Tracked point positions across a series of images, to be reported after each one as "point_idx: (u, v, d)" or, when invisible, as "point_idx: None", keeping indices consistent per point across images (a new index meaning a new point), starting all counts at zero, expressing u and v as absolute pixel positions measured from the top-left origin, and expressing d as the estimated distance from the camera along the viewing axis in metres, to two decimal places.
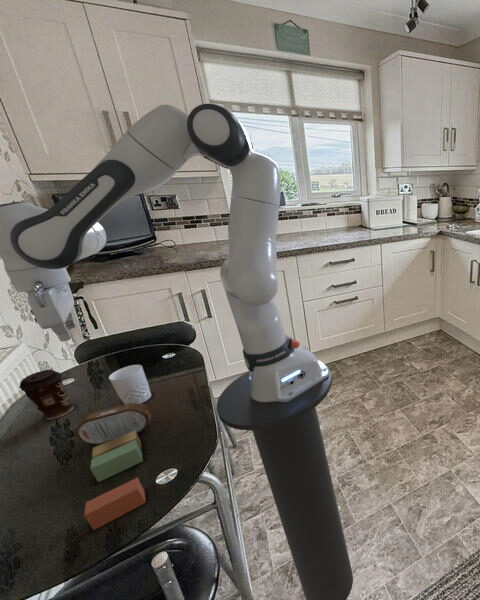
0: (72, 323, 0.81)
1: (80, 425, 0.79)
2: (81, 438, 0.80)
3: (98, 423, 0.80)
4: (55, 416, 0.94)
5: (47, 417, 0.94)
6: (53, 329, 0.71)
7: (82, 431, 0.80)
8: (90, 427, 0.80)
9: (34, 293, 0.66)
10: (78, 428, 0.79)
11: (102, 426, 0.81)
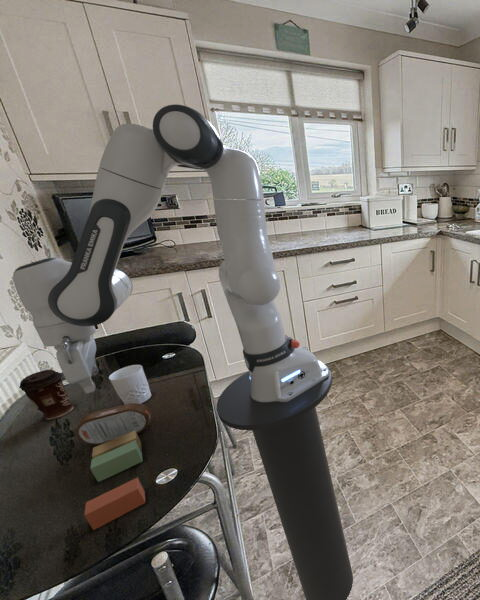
0: (95, 370, 0.81)
1: (80, 425, 0.79)
2: (81, 438, 0.80)
3: (98, 423, 0.80)
4: (55, 416, 0.94)
5: (47, 417, 0.94)
6: (79, 382, 0.72)
7: (82, 431, 0.80)
8: (90, 427, 0.80)
9: (63, 351, 0.66)
10: (78, 428, 0.79)
11: (102, 426, 0.81)
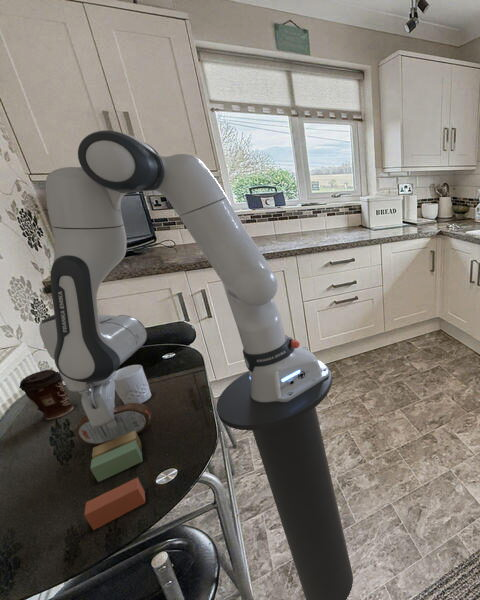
0: None
1: (80, 425, 0.79)
2: (81, 438, 0.80)
3: None
4: (55, 416, 0.94)
5: (47, 417, 0.94)
6: None
7: (82, 430, 0.80)
8: (90, 427, 0.80)
9: (88, 398, 0.70)
10: (78, 428, 0.79)
11: (102, 426, 0.81)
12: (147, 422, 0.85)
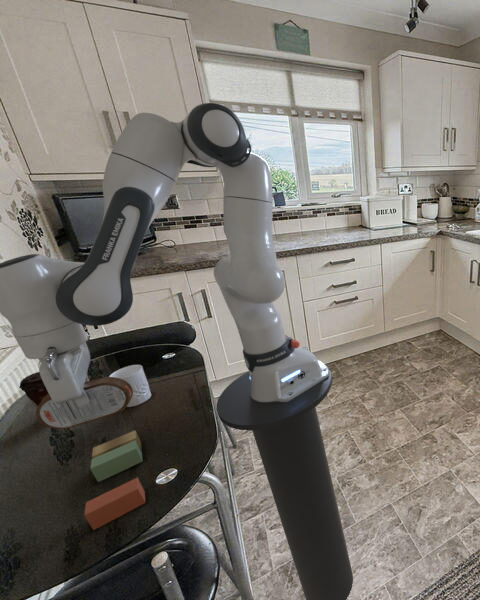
0: None
1: (42, 403, 0.64)
2: (43, 421, 0.65)
3: None
4: None
5: None
6: None
7: (45, 411, 0.65)
8: (55, 406, 0.65)
9: (47, 365, 0.56)
10: (39, 407, 0.64)
11: (70, 405, 0.66)
12: (127, 400, 0.71)
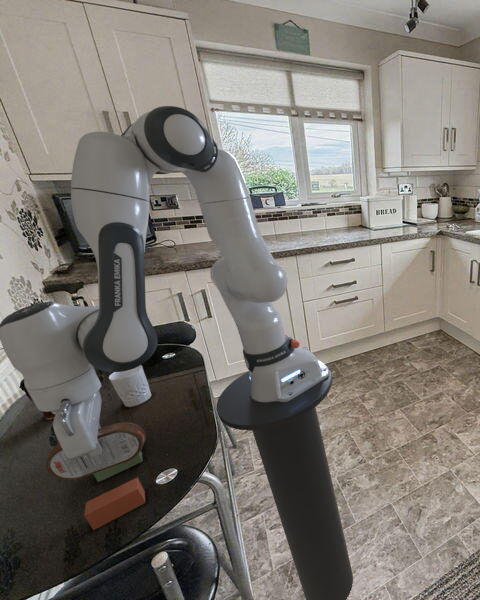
0: None
1: (53, 455, 0.61)
2: (53, 472, 0.62)
3: None
4: None
5: (47, 417, 0.94)
6: None
7: (55, 462, 0.62)
8: (66, 457, 0.62)
9: (62, 422, 0.53)
10: (50, 459, 0.61)
11: None
12: (141, 446, 0.68)
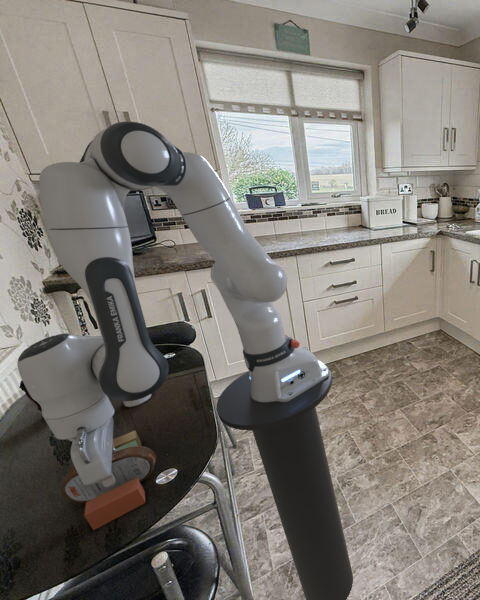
0: None
1: (67, 480, 0.63)
2: (68, 496, 0.64)
3: None
4: None
5: None
6: None
7: (70, 487, 0.64)
8: (80, 482, 0.64)
9: (79, 451, 0.56)
10: (64, 484, 0.63)
11: None
12: (152, 468, 0.70)
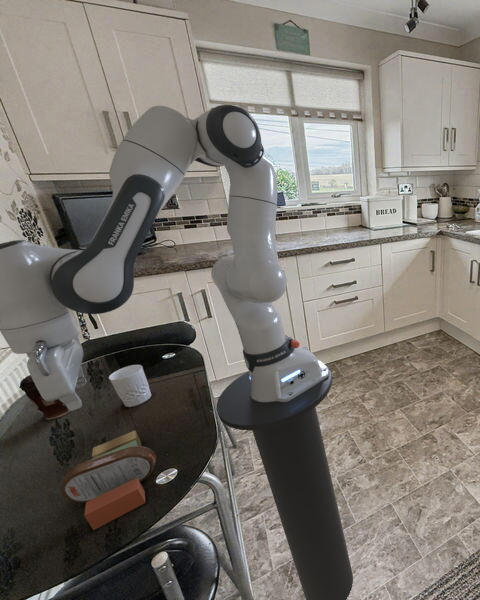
0: (82, 381, 0.66)
1: (67, 480, 0.63)
2: (68, 496, 0.64)
3: (90, 475, 0.65)
4: (55, 416, 0.94)
5: (47, 417, 0.94)
6: (60, 398, 0.57)
7: (70, 487, 0.64)
8: (80, 482, 0.64)
9: (35, 360, 0.51)
10: (64, 484, 0.63)
11: (95, 479, 0.66)
12: (152, 468, 0.70)
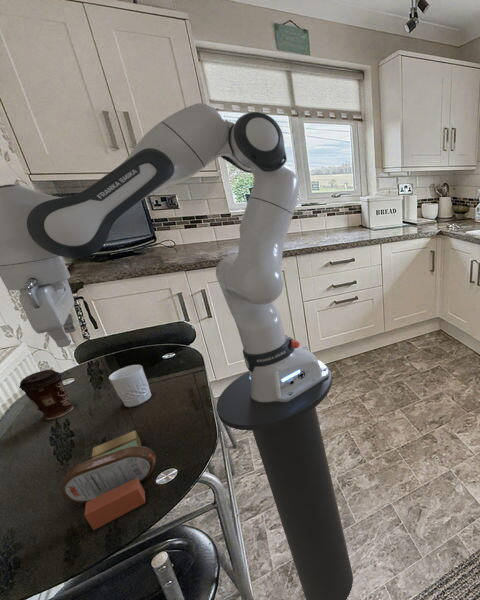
0: (72, 326, 0.71)
1: (67, 480, 0.63)
2: (68, 496, 0.64)
3: (90, 475, 0.65)
4: (55, 416, 0.94)
5: (47, 417, 0.94)
6: (50, 333, 0.61)
7: (70, 487, 0.64)
8: (80, 482, 0.64)
9: (27, 291, 0.56)
10: (64, 484, 0.63)
11: (95, 479, 0.66)
12: (152, 468, 0.70)
